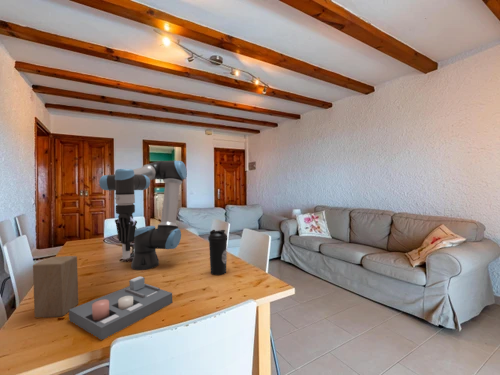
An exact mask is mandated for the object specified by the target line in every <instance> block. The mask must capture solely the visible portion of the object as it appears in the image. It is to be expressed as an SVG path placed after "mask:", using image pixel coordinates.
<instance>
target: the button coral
mask: <svg viewBox="0 0 500 375" xmlns="http://www.w3.org/2000/svg"><path fill="white" fill-rule="evenodd" d="M92 317H93V321H101V320H103V319H105V318H107V317H109V300H106V299H104V300H99V301H96V302H94V303H93V304H92Z"/></svg>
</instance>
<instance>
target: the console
mask: <svg viewBox="0 0 500 375" xmlns="http://www.w3.org/2000/svg"><path fill="white" fill-rule="evenodd" d="M124 296H133V306H131V307H129V308H127V309H124V310H120V309H119V308H118V300H119V299H120V298H121V297H124ZM104 299H106V300H109V317H107V318H105V319H103V320H101V321H93V317H92V304H93V303H94V302H96V301H99V300H104ZM171 304H173V292H171V291H168V290H164V289H161V288H160V287H157V286H154V285H151V284H147V283H145V287H144V288H141V289H139V290H136V291H133V290H130V285H128V286H125V287H123V288H121V289H118V290H116V291H113V292H110V293H108V294H106V295H102V296H101V297H98V298H95V299H92V300H90V301H88V302H85V303H82V304H79V305H76V306H75V307H74V308H72V309H69V312H68V321H69V320H70V321H69V322H71V323H72V322H73V324H74V323H75V326H77V325H78V326H77V327H79V328H81V329H82V328H83V329H82V330H83V331H86V332H87V333H89V334H90V333H91V335H92V334H93V335H92V336H93V337H95V336H96V338H97V337H98V338H97V339H99V340H100V339H101V340H100V341H103V340H105V339H107V338H109V337H111V336H113V335H115V334H117V333H119V332H121V331H122V330H124V329H125V328H128V327H129V326H132V325H133V324H136V323H137V322H139V321H140V320H143V319H144V318H146V317H148V316H150V315H152V314H153V313H155V312H158V311H159V310H162V309H163V308H165V307H166V306H167V307H168V306H169V305H171ZM116 332H117V333H116ZM114 333H115V334H114ZM112 334H113V335H112ZM110 335H111V336H110ZM108 336H109V337H108ZM102 339H103V340H102Z"/></svg>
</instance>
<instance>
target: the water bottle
mask: <svg viewBox="0 0 500 375" xmlns="http://www.w3.org/2000/svg"><path fill="white" fill-rule="evenodd" d="M225 232H226V230H225V229H219V230H215V229H212V230H210V231H209V235H208V242H209V243H208V244H209V246H208V247H209V265H210V266H209V267H210V274H211V275H212V276H222V275H225V274H227V259H228V258H227V257H228V256H227V255H228V249H227V245H228V243H227V242H228V235H227V234H226V233H225Z"/></svg>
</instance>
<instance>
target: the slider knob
mask: <svg viewBox="0 0 500 375" xmlns="http://www.w3.org/2000/svg"><path fill="white" fill-rule="evenodd" d="M145 284H146V283H145V277H143V276H140V275H139V276H137V277H134V278H132V279H129V286H130V290H133V291H136V290H139V289H141V288H144V287H145Z"/></svg>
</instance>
